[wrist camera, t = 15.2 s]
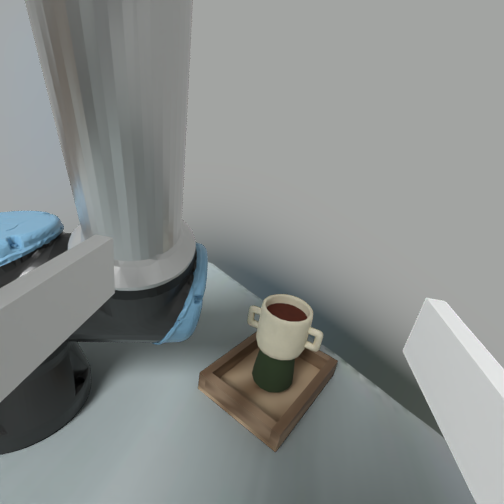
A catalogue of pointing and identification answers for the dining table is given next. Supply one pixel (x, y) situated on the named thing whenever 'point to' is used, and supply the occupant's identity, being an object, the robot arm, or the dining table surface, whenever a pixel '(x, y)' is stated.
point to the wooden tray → (260, 401)
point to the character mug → (281, 339)
